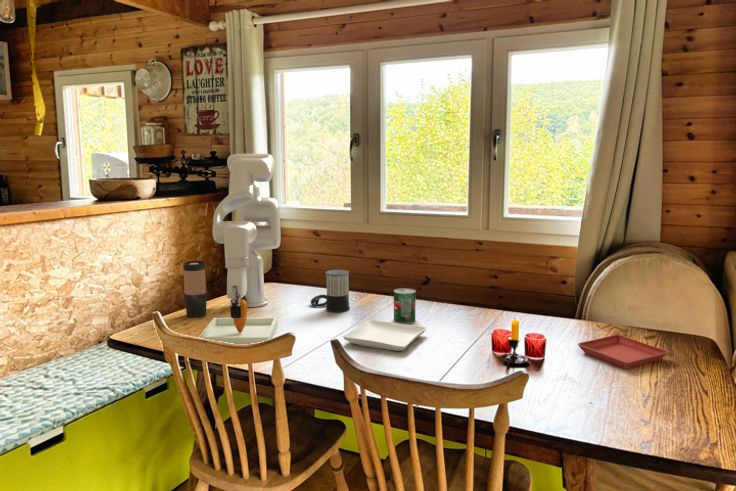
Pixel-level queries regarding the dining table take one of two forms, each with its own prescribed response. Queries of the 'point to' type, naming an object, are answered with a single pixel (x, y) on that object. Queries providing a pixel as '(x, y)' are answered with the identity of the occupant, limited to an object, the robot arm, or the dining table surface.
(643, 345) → the plant saucer
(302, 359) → the dining table surface
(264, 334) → the tray
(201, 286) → the travel mug
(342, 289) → the milk frother
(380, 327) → the salad plate
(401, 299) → the canned tomato
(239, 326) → the carrot
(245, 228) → the robot arm
